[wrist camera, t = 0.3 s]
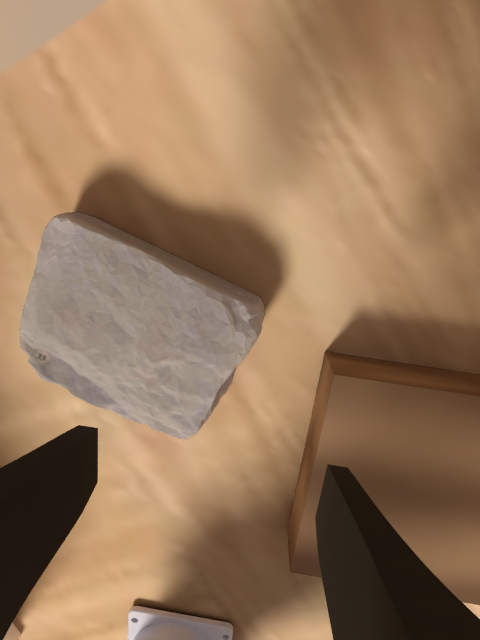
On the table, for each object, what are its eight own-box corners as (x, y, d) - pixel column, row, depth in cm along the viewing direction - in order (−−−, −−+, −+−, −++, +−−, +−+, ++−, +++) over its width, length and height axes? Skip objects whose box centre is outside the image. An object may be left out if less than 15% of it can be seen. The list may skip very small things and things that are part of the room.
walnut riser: (483, 562, 23) (513, 610, 20) (287, 528, 24) (289, 571, 21) (559, 386, 19) (610, 416, 16) (325, 351, 20) (334, 374, 17)
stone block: (216, 410, 24) (280, 287, 19) (194, 466, 20) (269, 327, 15) (58, 335, 24) (82, 193, 19) (2, 376, 20) (15, 206, 15)
